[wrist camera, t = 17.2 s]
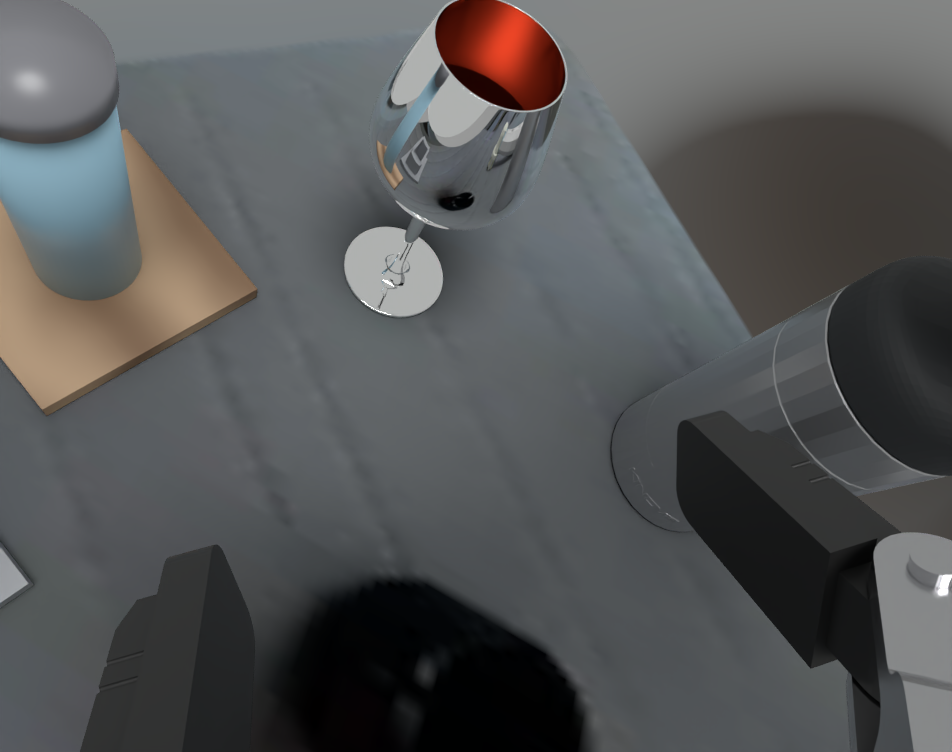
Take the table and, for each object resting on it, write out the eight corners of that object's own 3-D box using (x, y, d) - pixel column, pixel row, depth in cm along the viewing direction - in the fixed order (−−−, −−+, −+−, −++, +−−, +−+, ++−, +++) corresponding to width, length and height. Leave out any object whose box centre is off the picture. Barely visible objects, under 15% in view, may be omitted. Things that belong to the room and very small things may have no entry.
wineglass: (403, 357, 40) (527, 176, 24) (299, 268, 39) (356, 25, 24) (477, 275, 44) (626, 75, 28) (384, 194, 43) (480, -56, 28)
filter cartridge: (105, 195, 36) (53, -29, 23) (167, 271, 35) (149, 86, 23) (2, 240, 33) (-117, 14, 21) (69, 322, 33) (-10, 144, 21)
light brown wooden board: (128, 140, 38) (126, 128, 37) (256, 297, 38) (257, 289, 37) (-101, 228, 32) (-110, 217, 32) (46, 415, 32) (42, 409, 31)
